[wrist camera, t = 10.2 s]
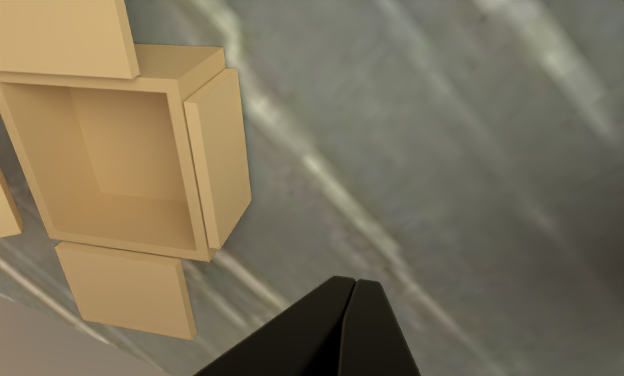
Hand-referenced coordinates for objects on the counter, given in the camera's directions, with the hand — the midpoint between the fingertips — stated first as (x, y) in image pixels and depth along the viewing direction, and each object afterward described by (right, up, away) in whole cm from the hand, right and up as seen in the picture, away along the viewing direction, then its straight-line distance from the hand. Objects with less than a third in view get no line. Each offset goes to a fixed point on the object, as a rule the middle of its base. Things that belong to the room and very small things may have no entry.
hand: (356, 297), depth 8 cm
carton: (-8, +5, +14) cm, 17 cm away
